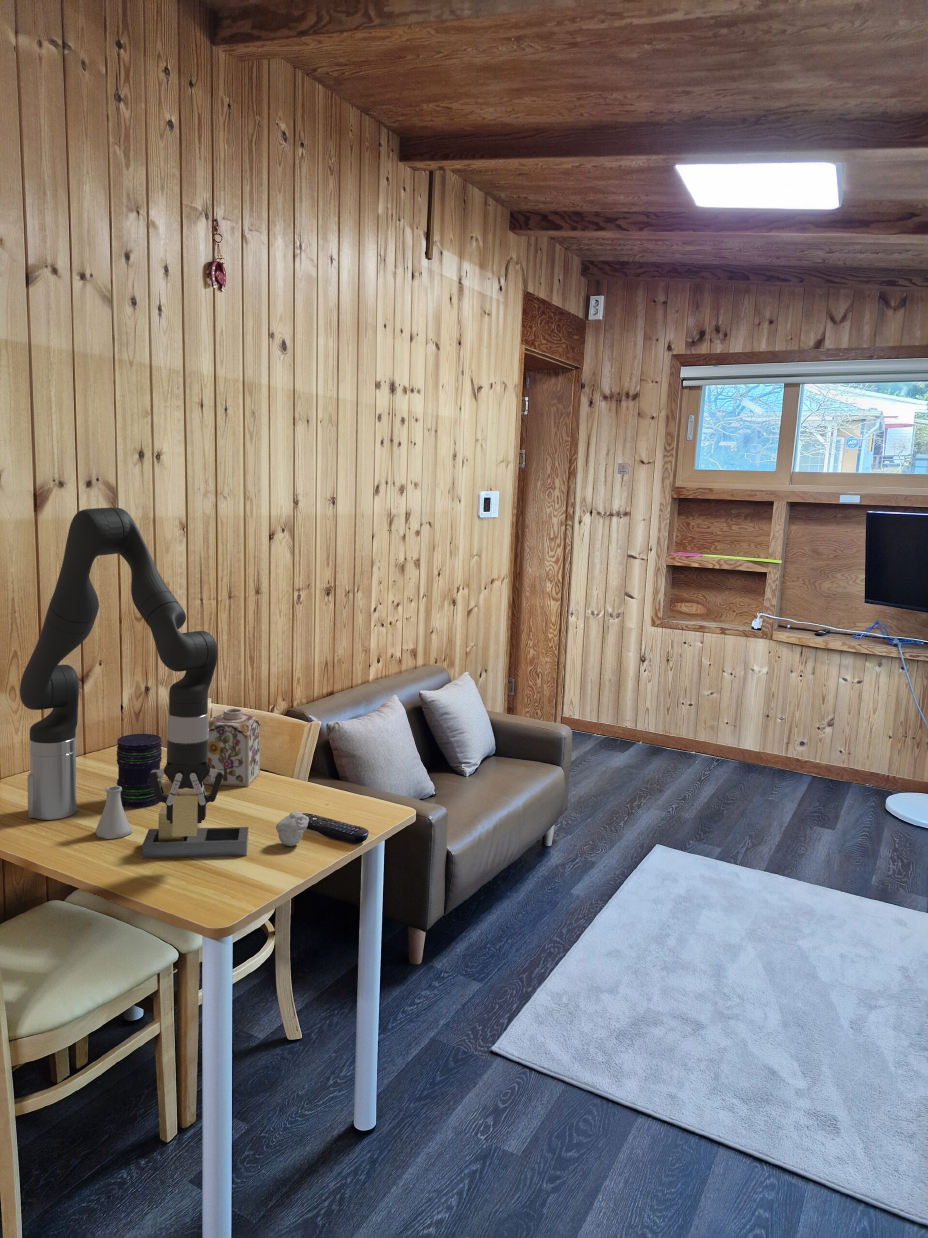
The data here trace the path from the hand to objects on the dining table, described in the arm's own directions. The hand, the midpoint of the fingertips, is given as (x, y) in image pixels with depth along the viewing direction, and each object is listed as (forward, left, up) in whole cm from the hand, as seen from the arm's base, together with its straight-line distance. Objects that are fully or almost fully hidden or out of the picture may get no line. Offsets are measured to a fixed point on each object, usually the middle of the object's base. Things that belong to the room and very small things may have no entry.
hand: (186, 821), depth 173 cm
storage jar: (-15, +40, -10) cm, 44 cm away
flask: (-17, +20, -10) cm, 28 cm away
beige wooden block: (0, 0, -2) cm, 2 cm away
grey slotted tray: (+1, +10, -10) cm, 14 cm away
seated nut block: (-4, +10, -9) cm, 14 cm away
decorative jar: (+5, +56, -10) cm, 57 cm away
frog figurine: (+20, +11, -10) cm, 25 cm away
